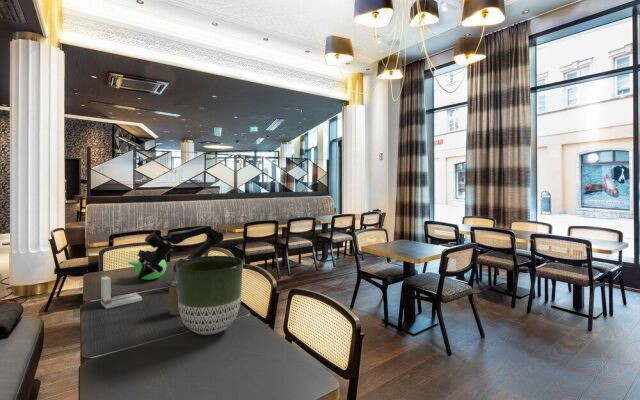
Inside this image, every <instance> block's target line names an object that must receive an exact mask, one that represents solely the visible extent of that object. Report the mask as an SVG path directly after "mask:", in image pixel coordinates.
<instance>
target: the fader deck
mask: <svg viewBox="0 0 640 400" xmlns="http://www.w3.org/2000/svg"><path fill="white" fill-rule="evenodd" d="M111 300H112V302H111V303H107V304H104V303H103V302H102V301H101V300H100V304H101V306H103V307H104V308H105V309H106V310H107V309H112V308H115V307H116V308H117V307H120V306H124V305H128V304H132V303H136V302H140V301H143V297H142V296H141V295H139V293H137V292H133V293H130V294H129V293H128V294H125V295H120V296H119V295H118V296H114V297H111Z"/></svg>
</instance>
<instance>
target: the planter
mask: <svg viewBox="0 0 640 400" xmlns="http://www.w3.org/2000/svg"><path fill="white" fill-rule="evenodd" d="M185 259H186V258H185ZM176 263H177V262H176ZM243 269H244V261H243V259H241V258H239V257H236V256H230V255H229V256H228V255H204V256H203V255H202V256H201V257H196V258H190V259H186V260H183V261H181V262H179V263H177V264H176V273H175V275H176V277H177V293H178V306H179V312H180V315H179V316H180V318H181V321H182V323H183V324H184V326H186V328H187V329H189V330H190V331H192V333H195V334H198V335H201V336H202V335H203V336H210V335H211V336H212V335H215V334H219V333H221V332H223V331H225V330H226V329H227V328H228V327H230V325H232V323H233V322H234V321H235V319H236V317H237V316H238V313H239V310H240V306H241V300H242V289H243V288H242V287H243V285H242V284H243Z"/></svg>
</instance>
